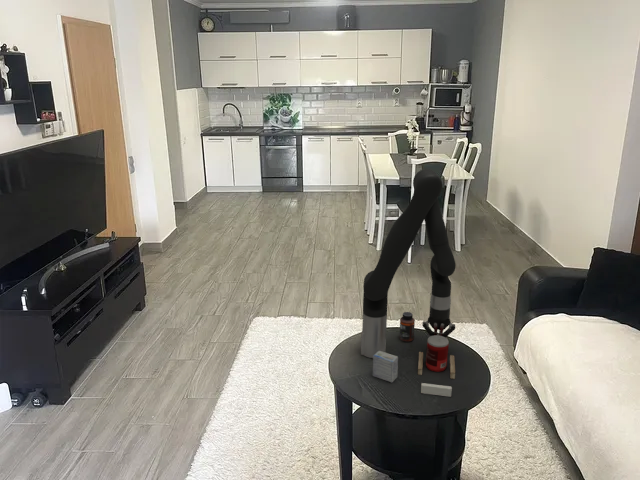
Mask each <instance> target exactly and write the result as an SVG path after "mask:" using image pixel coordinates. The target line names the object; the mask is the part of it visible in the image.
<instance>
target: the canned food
mask: <svg viewBox="0 0 640 480" xmlns="http://www.w3.org/2000/svg"><path fill="white" fill-rule="evenodd" d="M449 345H450V343H449V339H448V338H447V337H446V338H445V337H443V336H439V334H437V335H434V336H430V335H429V336H428V338H427V341H426V352H425V353H426V356H425V366H426V368H427V370H429V371H431V372H435V373H437V372H444V371H445V370H446V368H447V367H448V356H449V355H448V354H449Z"/></svg>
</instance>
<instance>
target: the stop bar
mask: <svg viewBox="0 0 640 480" xmlns="http://www.w3.org/2000/svg"><path fill="white" fill-rule="evenodd" d="M420 386H421V388H420V393H421V394H425V395H433V396H435V395H436V396H443V397H449V398H450V397H452V391H453V390H452V389H453V387H452V386H449V385H441V384H433V383H423V382H421V385H420Z"/></svg>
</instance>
